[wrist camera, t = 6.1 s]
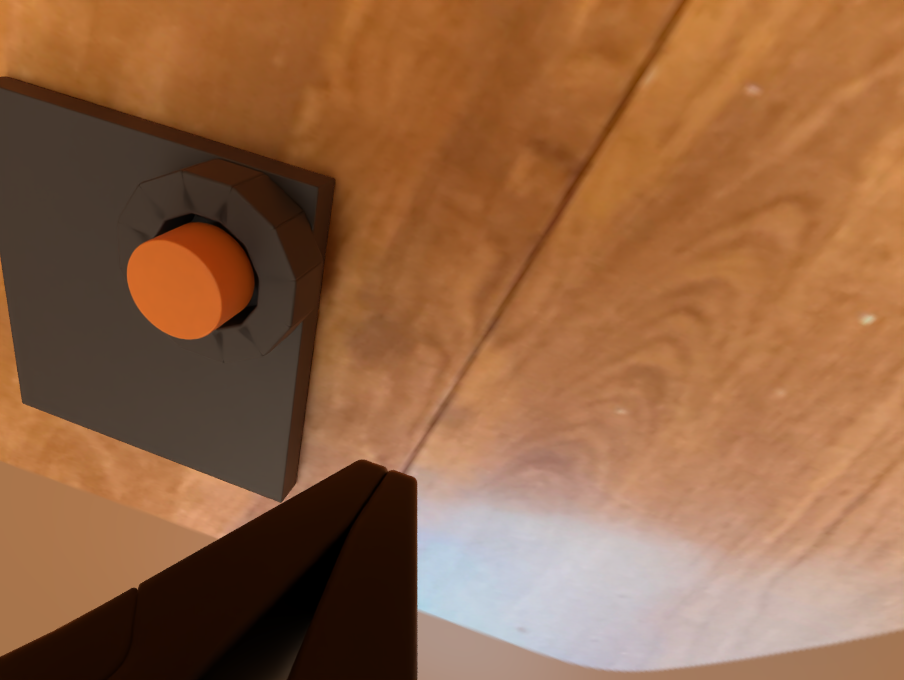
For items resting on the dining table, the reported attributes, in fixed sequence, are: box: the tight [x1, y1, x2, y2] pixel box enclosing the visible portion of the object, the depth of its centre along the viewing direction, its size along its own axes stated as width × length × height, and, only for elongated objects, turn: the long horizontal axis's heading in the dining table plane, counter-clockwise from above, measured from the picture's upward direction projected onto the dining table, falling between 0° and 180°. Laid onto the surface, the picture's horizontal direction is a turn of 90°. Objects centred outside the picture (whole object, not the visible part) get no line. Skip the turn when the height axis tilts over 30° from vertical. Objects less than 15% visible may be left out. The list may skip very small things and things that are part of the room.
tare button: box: [127, 222, 254, 339], centre depth 18 cm, size 3×3×2 cm
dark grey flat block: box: [0, 77, 335, 503], centre depth 22 cm, size 13×12×3 cm
